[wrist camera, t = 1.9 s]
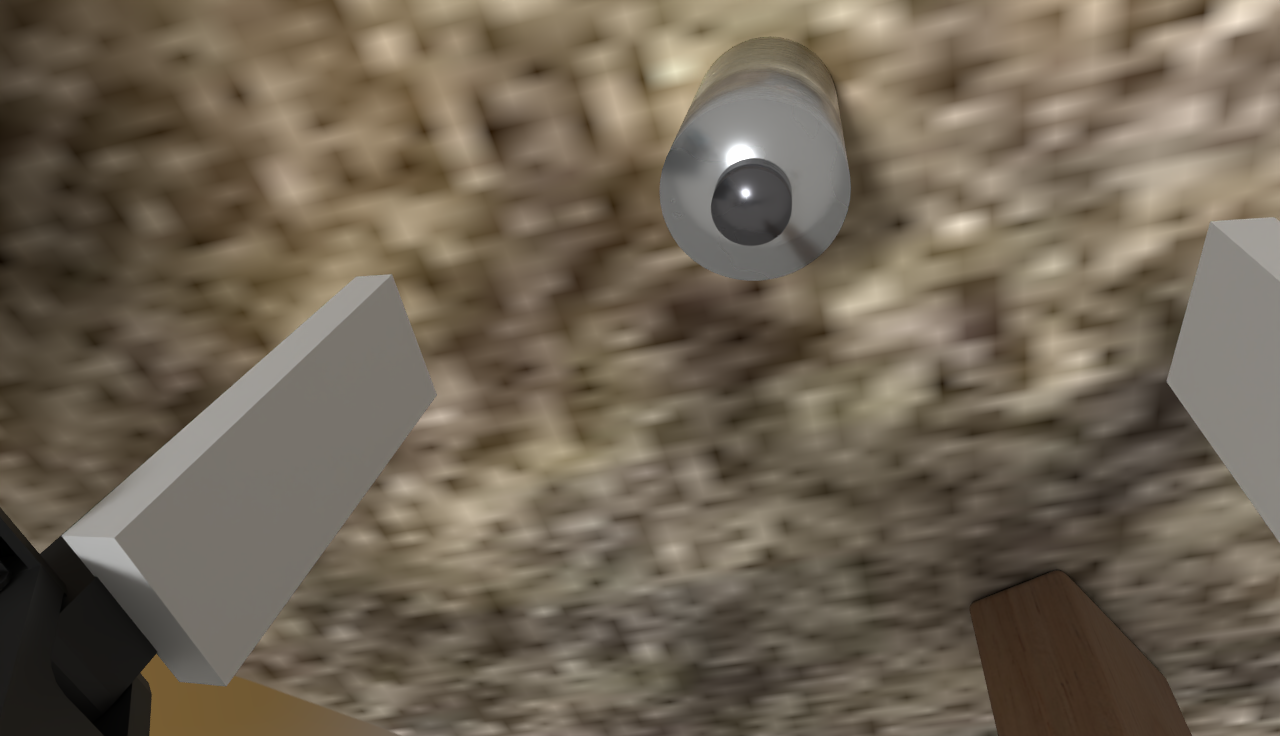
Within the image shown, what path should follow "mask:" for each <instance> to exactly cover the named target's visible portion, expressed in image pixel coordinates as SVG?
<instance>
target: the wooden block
mask: <svg viewBox="0 0 1280 736" xmlns="http://www.w3.org/2000/svg"><path fill="white" fill-rule="evenodd" d="M970 614H971V618H972V622H973V627H974V631H975V636H976V640H977V645H978V649H979V654H980V658H981V662H982V667H983V671H984V676H985V680H986V685H987V689H988V693H989V698H990V702H991V707H992V711H993V715H994V719H995V724H996V728H997V732H998V736H1192V735H1191V733H1190V731H1189V728H1188V726H1187V724H1186V722H1185V720H1184V717H1183V715H1182V713H1181V711H1180V709H1179V706H1178V704H1177V702H1176V700H1175V697H1174V695H1173V693H1172V691H1171V689H1170V686H1169V684H1168V682H1167V680H1166V678H1165V677H1164V676H1163V675H1162V674H1161V673H1160V672H1159V671H1158V670H1157V669H1156V667H1155V666H1154V665H1153V664H1152V663H1151V662H1150V661H1149V660H1148V659H1147V658H1146V657H1145V656H1144V655H1143V654H1142V653H1141V652H1140V651H1139V650H1138V649H1137V648H1136V646H1135V645H1134V644H1133V643H1132V642H1131V641H1130V640H1129V639H1128V638H1127V637H1126V636H1125V635H1124V634H1123V633H1122V632H1121V631H1120V630H1119V629H1118V628H1117V627H1116V626H1115V624H1114V623H1113V622H1112V621H1111V620H1110V619H1109V618H1108V617H1107V616H1106V615H1105V614H1104V613H1103V612H1102V611H1101V610H1100V609H1099V608H1098V607H1097V606H1096V605H1095V604H1094V603H1093V601H1092V600H1091V599H1090V598H1089V597H1088V596H1087V595H1086V594H1085V593H1084V592H1083V591H1082V590H1081V589H1080V588H1079V587H1078V586H1077V585H1076V584H1075V583H1074V582H1073V581H1072V580H1071V579H1070V577H1069V576H1067V575H1066V574H1065V573H1064V572H1062V571H1052V572H1049V573H1047V574H1044V575H1042V576H1039V577H1037V578H1034V579H1032V580H1029V581H1027V582H1024V583H1021V584H1019V585H1016V586H1014V587H1011V588H1009V589H1006V590H1004V591H1001V592H998V593H996V594H993V595H991V596H988V597H986V598H983V599H981V600H978V601H975V602H974V603H973V604H971V605H970Z"/></svg>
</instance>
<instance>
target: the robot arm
mask: <svg viewBox="0 0 1280 736" xmlns="http://www.w3.org/2000/svg"><path fill="white" fill-rule="evenodd" d="M1167 383H1168V385H1169V386H1170V387H1171V389H1172V390H1173V392H1174V393H1175V394H1176V396H1177V397H1178V399H1179V400H1180V402H1181V403H1182V404H1183V406H1184V407H1185V409H1186V410H1187V412H1188V413H1189V414H1190V416H1191V417H1192V419H1193V420H1194V422H1195V423H1196V424H1197V426H1198V427H1199V429H1200V430H1201V432H1202V433H1203V434H1204V436H1205V437H1206V439H1207V440H1208V441H1209V443H1210V444H1211V446H1212V447H1213V449H1214V450H1215V451H1216V453H1217V454H1218V456H1219V457H1220V459H1221V460H1222V461H1223V463H1224V464H1225V466H1226V467H1227V469H1228V470H1229V471H1230V473H1231V474H1232V476H1233V477H1234V479H1235V480H1236V481H1237V483H1238V484H1239V486H1240V487H1241V488H1242V490H1243V491H1244V493H1245V494H1246V496H1247V497H1248V498H1249V500H1250V501H1251V503H1252V504H1253V506H1254V507H1255V508H1256V510H1257V511H1258V513H1259V514H1260V516H1261V517H1262V518H1263V520H1264V521H1265V523H1266V524H1267V526H1268V527H1269V528H1270V530H1271V531H1272V533H1273V534H1274V536H1275V537H1276V538H1277V540H1278V541H1279V543H1280V221H1279V220H1277V219H1276V218H1275V217H1271V218H1255V219H1240V220H1225V221H1210V225H1209V229H1208V232H1207V236H1206V239H1205V243H1204V247H1203V250H1202V254H1201V258H1200V261H1199V265H1198V269H1197V272H1196V276H1195V280H1194V283H1193V287H1192V291H1191V294H1190V298H1189V301H1188V305H1187V309H1186V312H1185V316H1184V320H1183V323H1182V327H1181V331H1180V334H1179V338H1178V342H1177V345H1176V349H1175V353H1174V356H1173V360H1172V363H1171V367H1170V371H1169V374H1168V378H1167ZM436 396H437V394H436V391H435V389H434V386H433V383H432V381H431V378H430V375H429V373H428V370H427V367H426V364H425V362H424V359H423V356H422V354H421V351H420V348H419V346H418V343H417V340H416V338H415V335H414V332H413V330H412V327H411V324H410V321H409V319H408V316H407V313H406V311H405V308H404V305H403V303H402V300H401V297H400V295H399V292H398V289H397V287H396V284H395V281H394V279H393V276H392V274H390V275H375V276H359V277H355V278H354V279H353V280H352V281H351V282H349V283H348V284H347V285H346V286H345V287H344V288H343V289H342V290H340V291H339V292H338V293H337V294H336V295H335V296H334V297H332V298H331V299H330V300H329V301H328V302H327V303H326V304H324V305H323V306H322V307H321V308H320V309H319V310H318V311H316V312H315V313H314V314H313V315H312V316H311V317H310V318H309V319H307V320H306V321H305V322H304V323H303V324H302V325H301V326H299V327H298V328H297V329H296V330H295V331H294V332H293V333H291V334H290V335H289V336H288V337H287V338H286V339H285V340H283V341H282V342H281V343H280V344H279V345H278V346H277V347H276V348H274V349H273V350H272V351H271V352H270V353H269V354H268V355H266V356H265V357H264V358H263V359H262V360H261V361H260V362H258V363H257V364H256V365H255V366H254V367H253V368H252V369H251V370H249V371H248V372H247V373H246V374H245V375H244V376H243V377H241V378H240V379H239V380H238V381H237V382H236V383H235V384H233V385H232V386H231V387H230V388H229V389H228V390H227V391H225V392H224V393H223V394H222V395H221V396H220V397H219V398H218V399H216V400H215V401H214V402H213V403H212V404H211V405H210V406H208V407H207V408H206V409H205V410H204V411H203V412H202V413H200V414H199V415H198V416H197V417H196V418H195V419H194V420H192V421H191V422H190V423H189V424H188V425H187V426H186V427H185V428H183V429H182V430H181V431H180V432H179V433H178V434H177V435H175V436H174V437H173V438H172V439H170V440H169V441H168V442H167V443H166V444H165V445H164V446H163V447H161V448H160V449H159V450H158V451H157V452H156V453H155V454H153V455H152V456H151V457H150V458H149V459H148V460H147V461H146V462H145V463H144V464H142V465H141V466H140V467H139V468H137V469H136V470H135V471H134V472H133V473H132V474H131V475H129V476H128V477H127V478H126V479H125V480H124V481H123V482H122V483H120V484H119V485H118V486H117V487H116V488H115V489H114V490H112V491H111V492H110V493H109V494H108V495H107V496H106V497H104V498H103V499H102V500H101V501H100V502H99V503H98V504H96V505H95V506H94V507H93V508H92V509H91V510H90V511H89V512H87V513H86V514H85V515H84V516H83V517H82V518H81V519H79V520H78V521H77V522H76V523H75V524H74V525H73V526H71V527H70V528H69V529H68V530H67V531H66V532H65V533H63V534H62V535H61V536H60V537H59V538H58V539H57V540H55V541H54V542H53V543H52V544H51V545H50V546H49V547H48V548H46V549H45V550H44V551H43V552H42V553H41V554H39V553H38V552H37V550H36V549H35V548H34V547H33V546H32V545H31V543H30V542H29V541H28V540H27V539H26V537H25V536H24V535H23V534H22V533H21V532H20V530H19V529H18V528H17V527H16V526H15V524H14V523H13V522H12V521H11V520H10V518H9V517H8V516H7V515H6V514H5V513H4V511H3V510H2V509H1V508H0V736H149V731H150V713H151V690H150V687H149V683H148V682H147V681H146V679H145V678H144V677H143V676H142V675H141V673H140V672H141V671H142V670H143V669H144V668H145V666H146V665H147V664H148V663H149V662H150V660H151V659H152V658H153V657H154V656H155V655H156V654H157V655H158V656H159V657H160V658H161V660H162V661H163V662H164V663H165V665H166V666H167V667H168V668H169V669H170V671H171V672H172V673H173V674H174V676H175V677H176V678H177V679H178V681H179V682H188V683H198V684H208V685H218V686H227V685H228V683H229V682H230V681H231V679H232V678H233V676H234V675H235V674H236V672H237V671H238V670H239V668H240V667H241V665H242V664H243V663H244V661H245V660H246V659H247V657H248V656H249V654H250V653H251V652H252V650H253V649H254V647H255V646H256V645H257V643H258V642H259V641H260V639H261V638H262V636H263V635H264V634H265V632H266V631H267V629H268V628H269V627H270V625H271V624H272V623H273V621H274V620H275V618H276V617H277V616H278V614H279V613H280V611H281V610H282V609H283V607H284V606H285V605H286V603H287V602H288V600H289V599H290V598H291V596H292V595H293V593H294V592H295V591H296V589H297V588H298V587H299V585H300V584H301V582H302V581H303V580H304V578H305V577H306V575H307V574H308V573H309V571H310V570H311V569H312V567H313V566H314V564H315V563H316V562H317V560H318V559H319V557H320V556H321V555H322V553H323V552H324V551H325V549H326V548H327V546H328V545H329V544H330V542H331V541H332V539H333V538H334V537H335V535H336V534H337V533H338V531H339V530H340V528H341V527H342V526H343V524H344V523H345V521H346V520H347V519H348V517H349V516H350V515H351V513H352V512H353V510H354V509H355V508H356V506H357V505H358V503H359V502H360V501H361V499H362V498H363V497H364V495H365V494H366V492H367V491H368V490H369V488H370V487H371V485H372V484H373V483H374V481H375V480H376V479H377V477H378V476H379V474H380V473H381V472H382V470H383V469H384V467H385V466H386V465H387V463H388V462H389V461H390V459H391V458H392V456H393V455H394V454H395V452H396V451H397V450H398V448H399V447H400V445H401V444H402V443H403V441H404V440H405V438H406V437H407V436H408V434H409V433H410V432H411V430H412V429H413V427H414V426H415V425H416V423H417V422H418V420H419V419H420V418H421V416H422V415H423V414H424V412H425V411H426V409H427V408H428V407H429V405H430V404H431V402H432V401H433V400H434V398H435V397H436Z"/></svg>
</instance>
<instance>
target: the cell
mask: <svg viewBox="0 0 1280 736" xmlns="http://www.w3.org/2000/svg"><path fill="white" fill-rule="evenodd" d="M850 193H851V183H850V173H849V166H848V160H847V154H846V148H845V142H844V136H843V130H842V124H841V118H840V112H839V106H838V100H837V94H836V89H835V85H834V82H833V80H832V77H831V75H830V73H829V71H828V69H827V68H826V66H825V65H824V64H823V62H822V61H821V60H820V59H819V58H818V57H817V56H816V55H815V54H814V53H813V52H812V51H810V50H809V49H808V48H806V47H805V46H803V45H801V44H799V43H797V42H794V41H792V40H789V39H784V38H779V37H760V38H755V39H751V40H748V41H745V42H742V43H740V44H738V45H736V46H734V47H732V48H731V49H729V50H728V51H726V52H725V53H724V54H722V55H721V56H720V57H719V58H718V59H717V60H716V61H715V62H714V63H713V65H712V66H711V67H710V68H709V70H708V71H707V73H706V75H705V76H704V78H703V80H702V82H701V85H700V87H699V89H698V91H697V93H696V95H695V97H694V100H693V102H692V104H691V106H690V108H689V110H688V112H687V115H686V117H685V119H684V121H683V123H682V125H681V127H680V130H679V132H678V134H677V136H676V138H675V140H674V142H673V145H672V147H671V149H670V151H669V153H668V155H667V157H666V160H665V163H664V166H663V169H662V175H661V180H660V203H661V208H662V213H663V217H664V219H665V222H666V225H667V227H668V229H669V231H670V233H671V235H672V237H673V238H674V239H675V241H676V242H677V244H678V245H679V246H680V248H681V249H682V250H683V251H684V252H685V253H686V254H687V255H688V256H689V257H690V258H692V259H693V260H694V261H695V262H697V263H698V264H700V265H701V266H703V267H704V268H706V269H708V270H710V271H712V272H714V273H717V274H719V275H722V276H725V277H729V278H733V279H739V280H768V279H773V278H778V277H782V276H785V275H788V274H790V273H793V272H795V271H797V270H799V269H801V268H803V267H805V266H806V265H808V264H809V263H811V262H812V261H814V260H815V259H816V258H817V257H818V256H820V255H821V254H822V253H823V252H824V251H825V250H826V249H827V248H828V246H829V245H830V244H831V243H832V242H833V240H834V239H835V237H836V236H837V234H838V233H839V231H840V229H841V227H842V225H843V223H844V220H845V217H846V214H847V212H848V207H849V202H850Z"/></svg>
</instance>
